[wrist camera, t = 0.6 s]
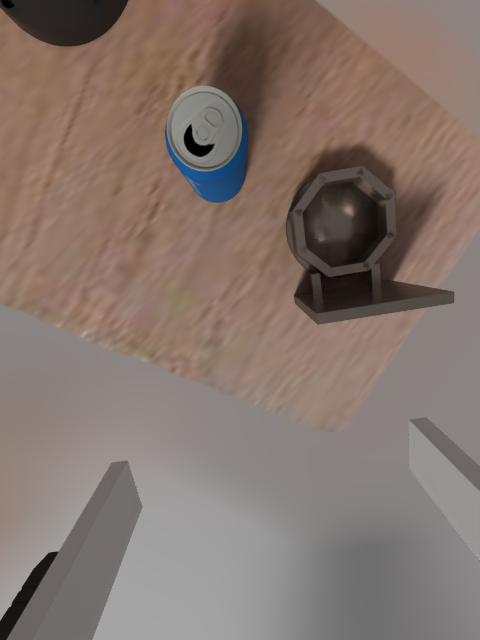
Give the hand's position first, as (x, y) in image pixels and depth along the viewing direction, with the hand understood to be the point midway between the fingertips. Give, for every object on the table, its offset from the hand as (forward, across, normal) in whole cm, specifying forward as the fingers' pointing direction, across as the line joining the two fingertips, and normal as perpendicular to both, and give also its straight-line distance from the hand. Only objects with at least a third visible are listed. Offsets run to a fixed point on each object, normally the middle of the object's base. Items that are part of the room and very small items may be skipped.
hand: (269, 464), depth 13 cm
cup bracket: (+24, +12, +9) cm, 29 cm away
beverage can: (+25, -1, +18) cm, 31 cm away
